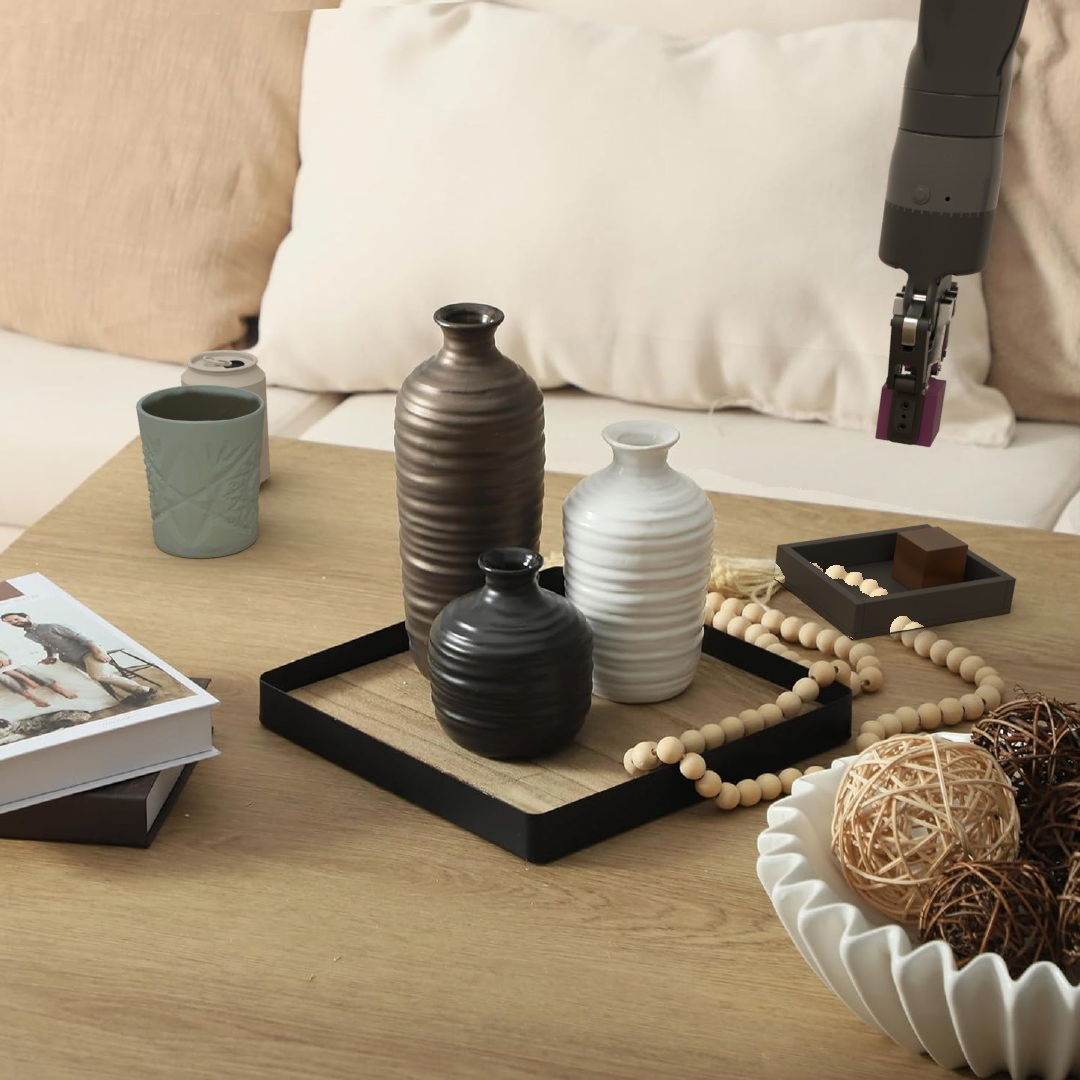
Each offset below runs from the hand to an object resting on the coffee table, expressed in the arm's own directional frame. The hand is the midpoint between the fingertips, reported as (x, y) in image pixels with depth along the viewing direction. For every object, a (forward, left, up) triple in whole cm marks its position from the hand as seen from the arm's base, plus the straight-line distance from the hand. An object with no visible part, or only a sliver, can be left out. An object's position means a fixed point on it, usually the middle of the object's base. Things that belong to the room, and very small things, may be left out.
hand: (907, 431), depth 108 cm
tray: (-3, -3, -15) cm, 16 cm away
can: (+42, -43, -15) cm, 62 cm away
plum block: (0, 0, 0) cm, 0 cm away
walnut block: (-6, -3, -15) cm, 16 cm away
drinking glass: (+46, -31, -15) cm, 58 cm away
